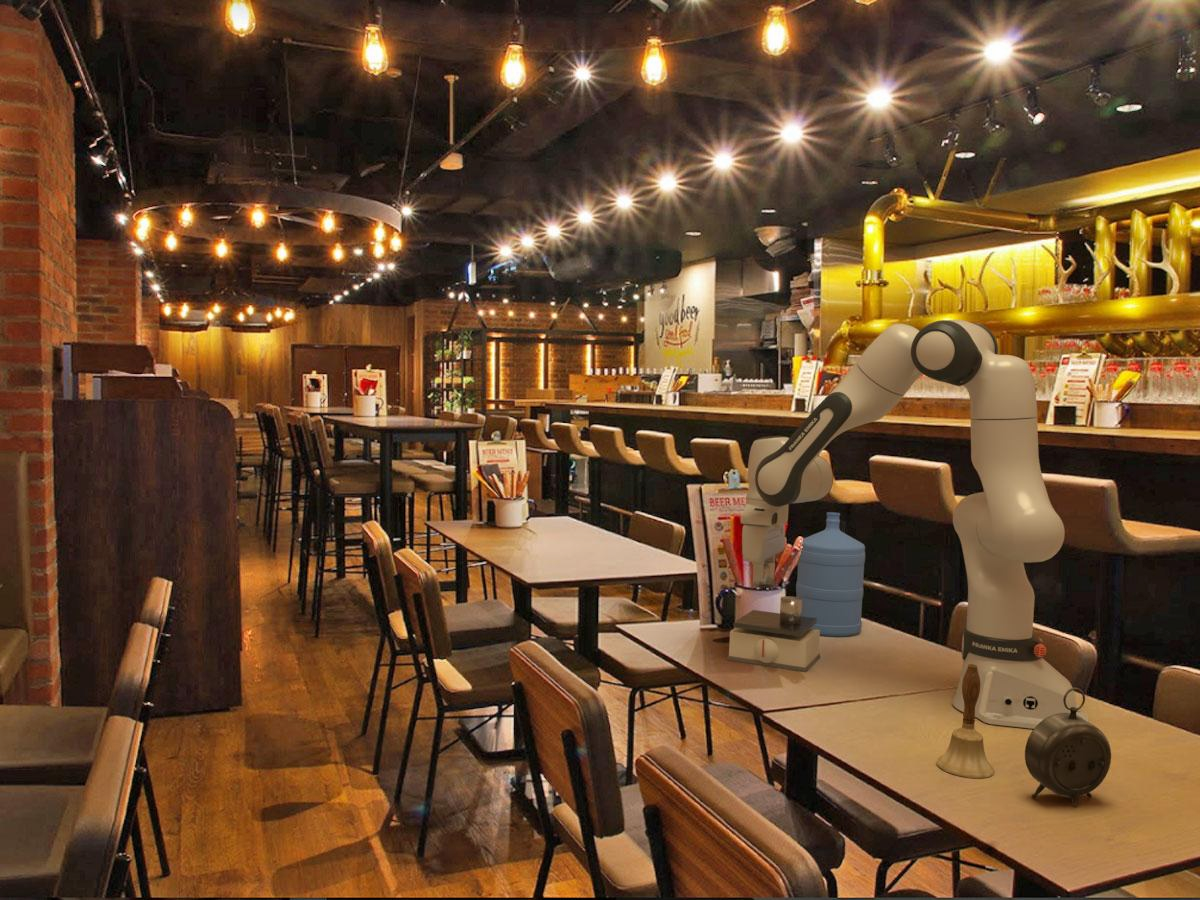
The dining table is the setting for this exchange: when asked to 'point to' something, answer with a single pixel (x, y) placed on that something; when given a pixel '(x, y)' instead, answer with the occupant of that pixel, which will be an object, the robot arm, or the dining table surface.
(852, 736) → the dining table surface
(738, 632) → the scale body
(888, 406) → the robot arm
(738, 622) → the pan
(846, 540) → the water jug
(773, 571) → the small glass cup
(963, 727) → the hand bell
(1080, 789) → the alarm clock
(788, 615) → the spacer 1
